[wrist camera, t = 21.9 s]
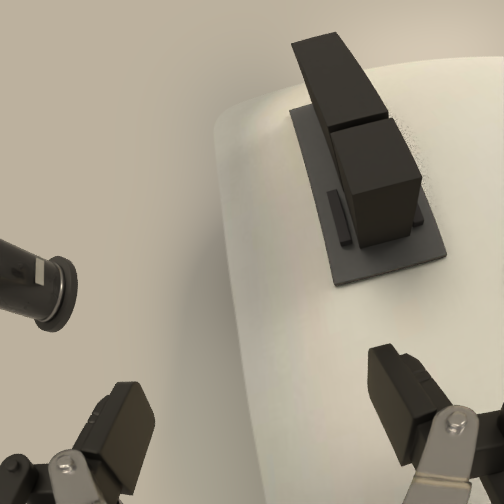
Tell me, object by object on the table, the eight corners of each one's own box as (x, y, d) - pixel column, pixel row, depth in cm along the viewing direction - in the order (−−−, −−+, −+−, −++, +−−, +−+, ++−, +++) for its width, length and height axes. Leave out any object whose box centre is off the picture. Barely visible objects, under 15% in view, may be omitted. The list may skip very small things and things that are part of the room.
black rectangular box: (360, 249, 25) (351, 195, 17) (345, 198, 27) (329, 132, 19) (410, 235, 24) (422, 177, 16) (392, 185, 26) (392, 117, 18)
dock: (334, 286, 25) (314, 245, 17) (290, 113, 33) (262, 49, 25) (445, 256, 22) (476, 202, 14) (371, 91, 31) (360, 23, 22)
